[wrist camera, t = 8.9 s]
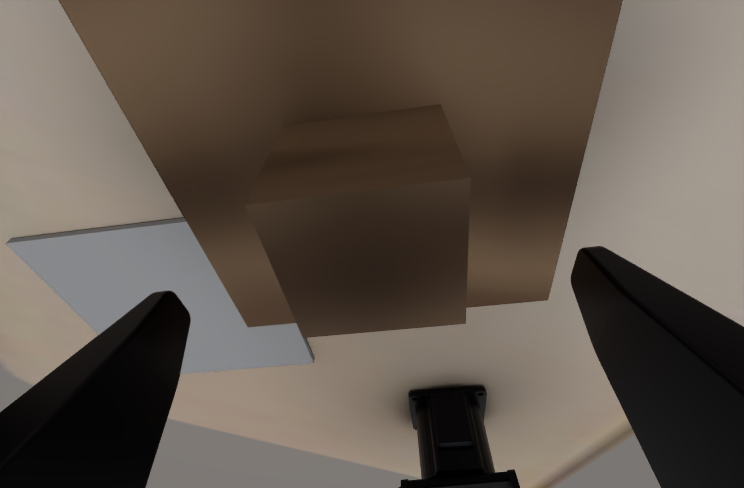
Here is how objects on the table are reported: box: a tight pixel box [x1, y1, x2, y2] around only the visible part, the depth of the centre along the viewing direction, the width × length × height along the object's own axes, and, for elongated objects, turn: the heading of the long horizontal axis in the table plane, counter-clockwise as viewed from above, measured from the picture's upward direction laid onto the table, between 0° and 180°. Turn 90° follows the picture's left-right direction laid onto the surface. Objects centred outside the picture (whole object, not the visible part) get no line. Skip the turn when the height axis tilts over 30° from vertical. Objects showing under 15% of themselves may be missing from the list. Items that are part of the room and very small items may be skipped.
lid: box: [59, 0, 623, 338], centre depth 10 cm, size 13×13×5 cm
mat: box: [5, 218, 314, 374], centre depth 24 cm, size 14×14×1 cm
